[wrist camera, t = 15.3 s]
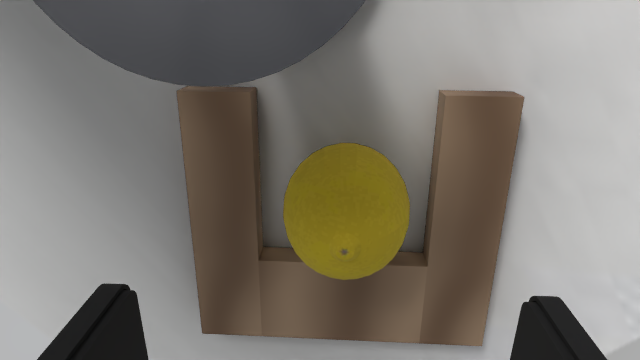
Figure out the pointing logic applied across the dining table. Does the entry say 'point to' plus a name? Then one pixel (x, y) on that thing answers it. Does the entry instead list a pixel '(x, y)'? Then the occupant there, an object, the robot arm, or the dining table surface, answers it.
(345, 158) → the lemon
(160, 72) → the spool
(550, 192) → the dining table surface
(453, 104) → the notched board
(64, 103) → the dining table surface
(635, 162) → the dining table surface
